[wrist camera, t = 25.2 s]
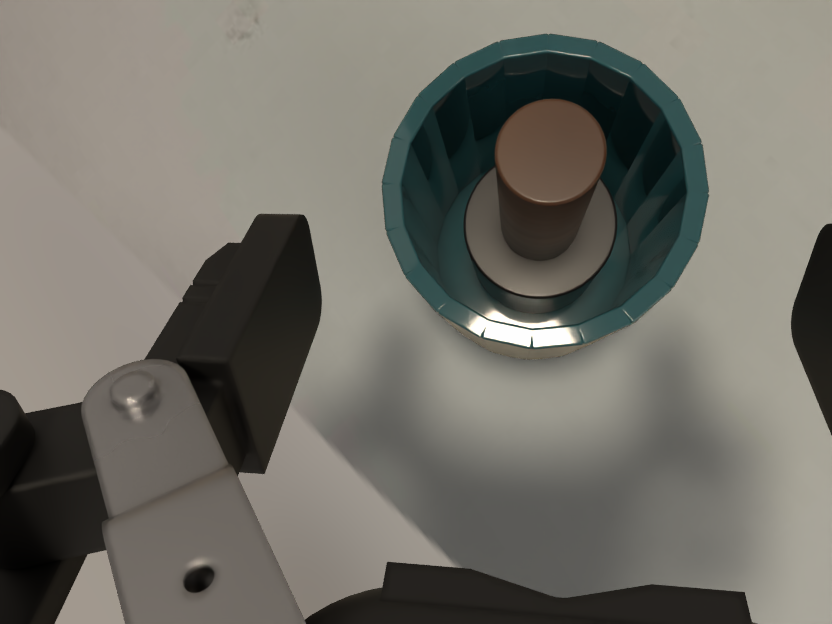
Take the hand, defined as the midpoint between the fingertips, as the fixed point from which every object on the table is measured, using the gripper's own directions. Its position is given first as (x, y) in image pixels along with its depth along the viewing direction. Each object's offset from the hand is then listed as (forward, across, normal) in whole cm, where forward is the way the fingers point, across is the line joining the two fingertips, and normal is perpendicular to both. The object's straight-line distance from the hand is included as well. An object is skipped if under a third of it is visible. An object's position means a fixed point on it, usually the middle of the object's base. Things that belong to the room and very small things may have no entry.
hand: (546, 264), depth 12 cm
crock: (+12, 0, +8) cm, 14 cm away
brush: (+11, 0, +8) cm, 14 cm away
